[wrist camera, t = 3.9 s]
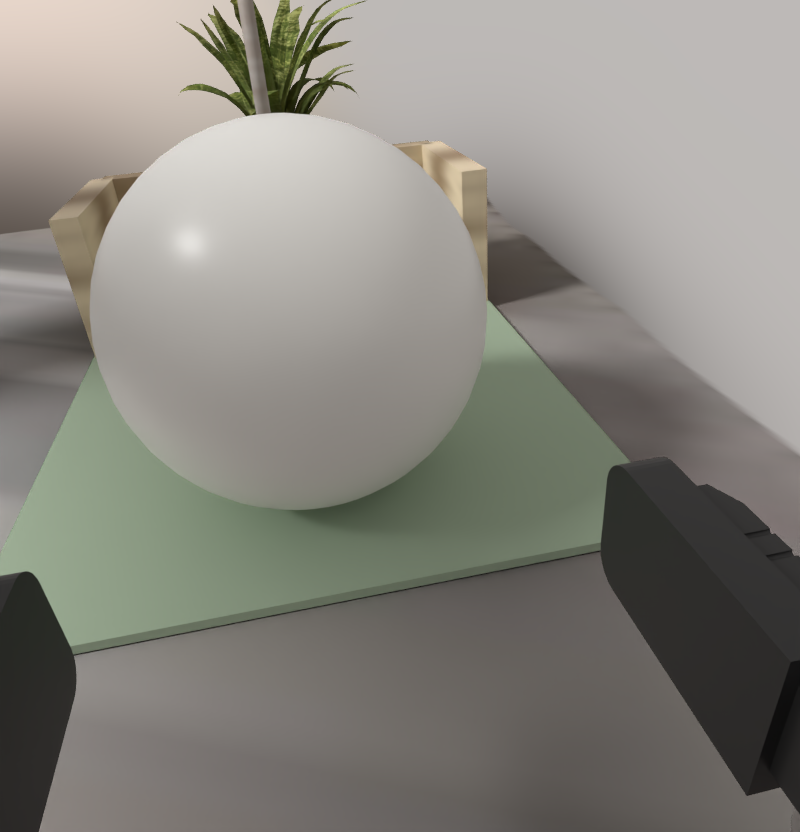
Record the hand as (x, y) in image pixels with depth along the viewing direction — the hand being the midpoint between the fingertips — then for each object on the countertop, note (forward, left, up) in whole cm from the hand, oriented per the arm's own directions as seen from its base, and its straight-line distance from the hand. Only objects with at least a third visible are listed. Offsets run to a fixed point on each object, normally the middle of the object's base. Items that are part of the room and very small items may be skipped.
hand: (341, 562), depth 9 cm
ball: (+6, +10, -1) cm, 11 cm away
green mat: (+10, +17, -7) cm, 21 cm away
